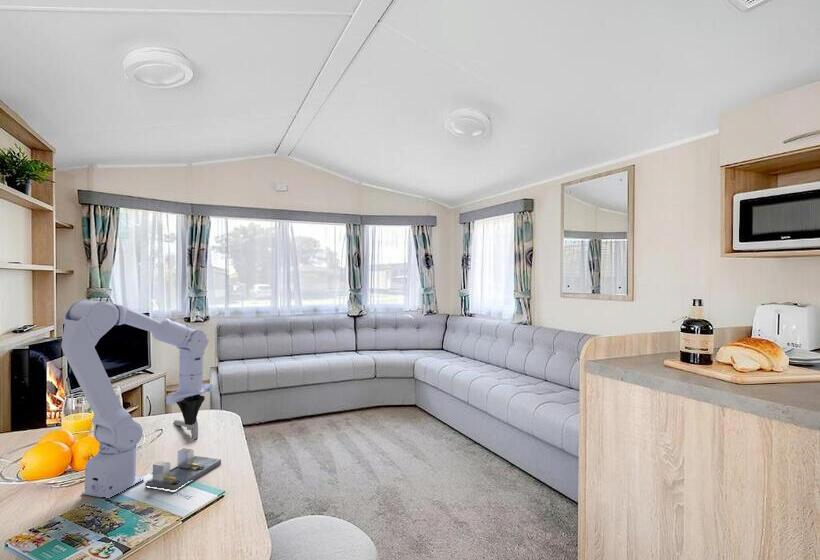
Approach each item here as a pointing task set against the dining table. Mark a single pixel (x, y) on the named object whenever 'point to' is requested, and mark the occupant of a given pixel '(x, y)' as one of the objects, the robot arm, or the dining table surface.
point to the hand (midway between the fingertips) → (189, 423)
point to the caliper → (189, 427)
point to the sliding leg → (186, 458)
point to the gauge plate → (180, 473)
